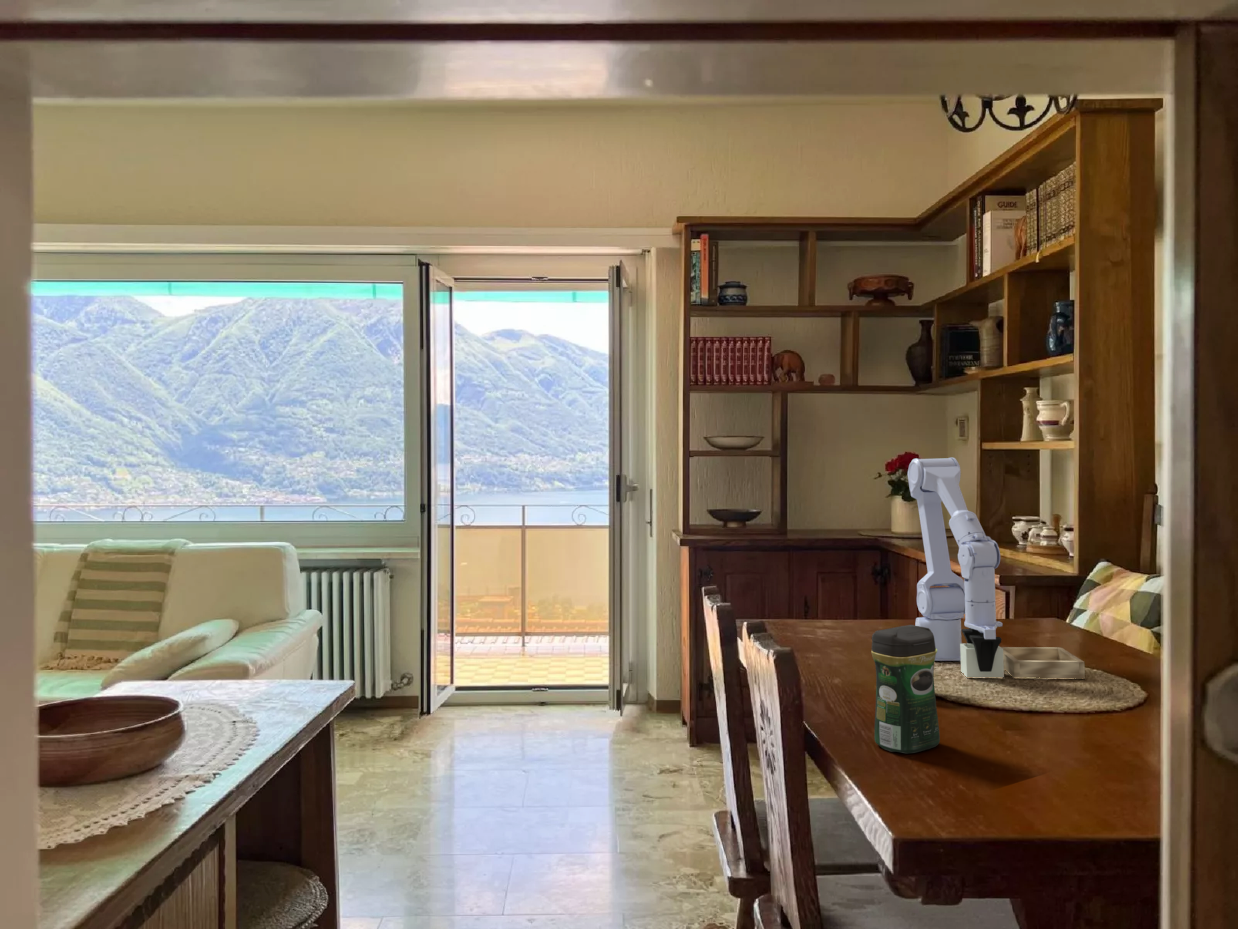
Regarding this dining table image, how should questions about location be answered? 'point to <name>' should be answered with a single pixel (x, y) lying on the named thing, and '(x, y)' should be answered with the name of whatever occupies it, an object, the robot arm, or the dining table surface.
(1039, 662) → the wooden tray
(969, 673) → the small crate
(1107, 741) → the dining table surface
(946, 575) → the robot arm
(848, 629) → the dining table surface
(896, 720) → the coffee jar
